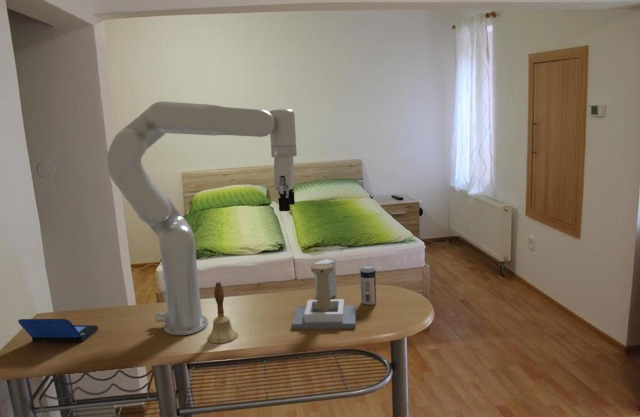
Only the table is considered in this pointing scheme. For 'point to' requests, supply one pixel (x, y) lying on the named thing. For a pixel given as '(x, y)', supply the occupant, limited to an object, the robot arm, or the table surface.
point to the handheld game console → (56, 330)
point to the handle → (323, 285)
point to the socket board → (325, 316)
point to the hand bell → (221, 321)
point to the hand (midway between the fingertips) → (287, 207)
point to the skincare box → (331, 278)
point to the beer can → (368, 285)
